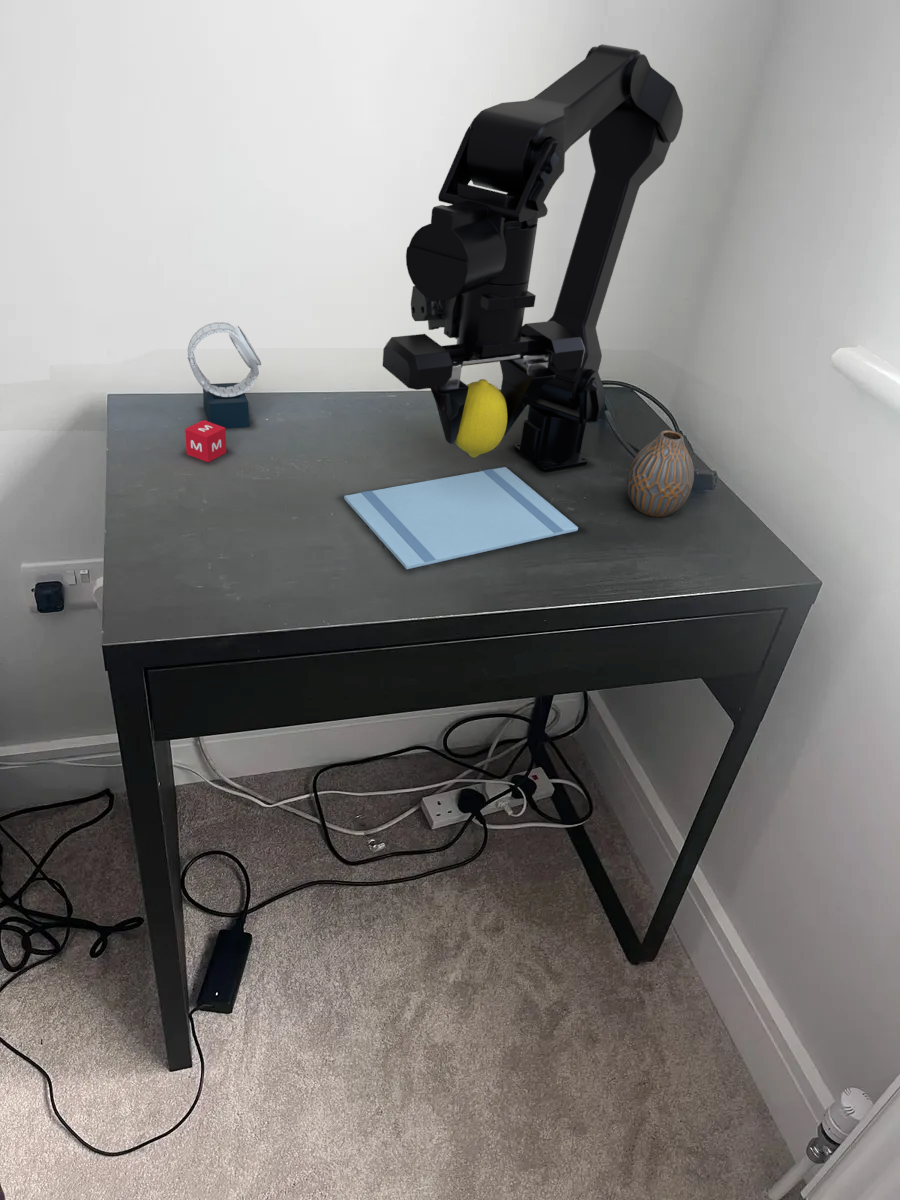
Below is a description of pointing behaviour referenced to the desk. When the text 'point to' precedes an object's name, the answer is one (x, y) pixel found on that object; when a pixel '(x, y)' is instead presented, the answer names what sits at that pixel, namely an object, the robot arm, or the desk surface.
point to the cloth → (457, 516)
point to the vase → (661, 475)
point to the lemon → (482, 419)
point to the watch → (226, 399)
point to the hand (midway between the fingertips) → (475, 437)
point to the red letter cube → (205, 441)
